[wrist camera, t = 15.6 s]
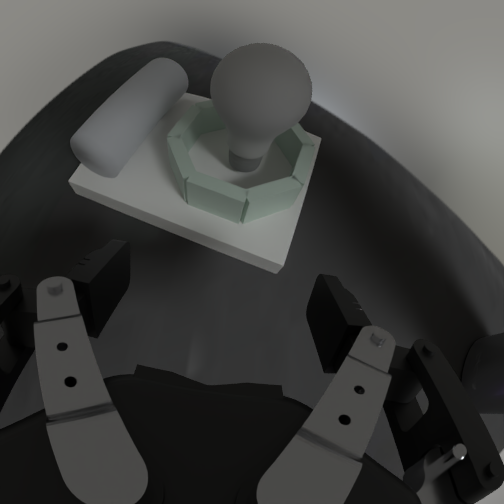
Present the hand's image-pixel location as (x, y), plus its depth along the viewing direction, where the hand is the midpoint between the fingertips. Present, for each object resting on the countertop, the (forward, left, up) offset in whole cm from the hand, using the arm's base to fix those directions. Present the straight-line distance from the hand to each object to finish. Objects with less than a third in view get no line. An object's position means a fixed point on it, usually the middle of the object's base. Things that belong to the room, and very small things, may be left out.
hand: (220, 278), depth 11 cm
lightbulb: (+2, -11, -7) cm, 13 cm away
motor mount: (+6, -11, -9) cm, 16 cm away
